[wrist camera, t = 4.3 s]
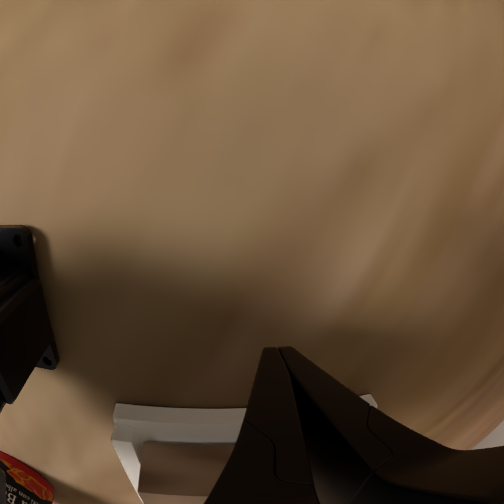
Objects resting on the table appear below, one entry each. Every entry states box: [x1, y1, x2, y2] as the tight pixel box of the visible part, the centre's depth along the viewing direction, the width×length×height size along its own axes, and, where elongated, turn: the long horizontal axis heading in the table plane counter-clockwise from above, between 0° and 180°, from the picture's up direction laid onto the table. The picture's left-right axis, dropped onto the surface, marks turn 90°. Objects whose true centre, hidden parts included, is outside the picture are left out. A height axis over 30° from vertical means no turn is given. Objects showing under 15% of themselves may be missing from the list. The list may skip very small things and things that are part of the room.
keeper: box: [137, 442, 235, 504], centre depth 12 cm, size 10×4×3 cm, turn 86°
